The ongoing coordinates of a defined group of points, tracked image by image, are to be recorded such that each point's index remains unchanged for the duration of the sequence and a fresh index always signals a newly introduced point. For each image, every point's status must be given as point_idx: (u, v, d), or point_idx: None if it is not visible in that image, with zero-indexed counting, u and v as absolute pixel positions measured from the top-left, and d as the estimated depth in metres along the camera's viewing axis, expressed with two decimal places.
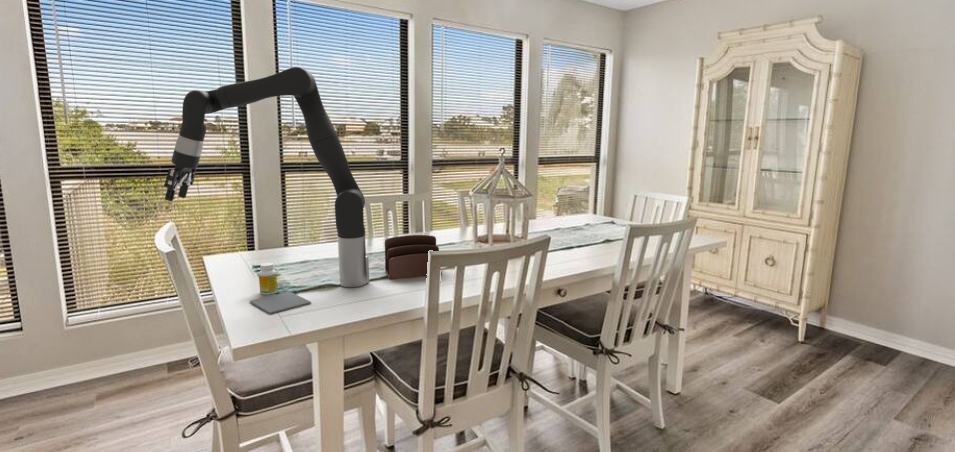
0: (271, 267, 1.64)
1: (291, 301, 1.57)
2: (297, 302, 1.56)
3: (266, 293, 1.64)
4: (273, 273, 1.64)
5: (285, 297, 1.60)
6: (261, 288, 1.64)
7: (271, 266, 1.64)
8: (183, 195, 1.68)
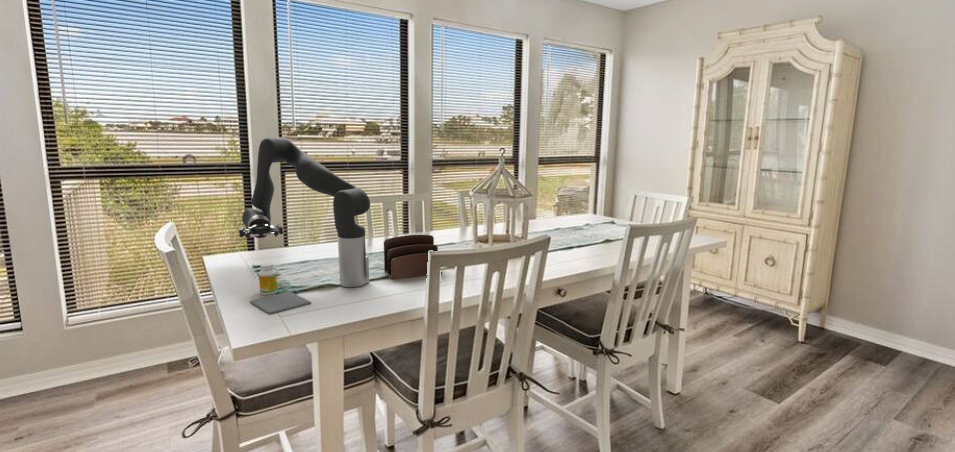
0: (271, 267, 1.64)
1: (291, 301, 1.57)
2: (297, 302, 1.56)
3: (266, 293, 1.64)
4: (273, 273, 1.64)
5: (285, 297, 1.60)
6: (261, 288, 1.64)
7: (271, 266, 1.64)
8: (274, 231, 1.75)
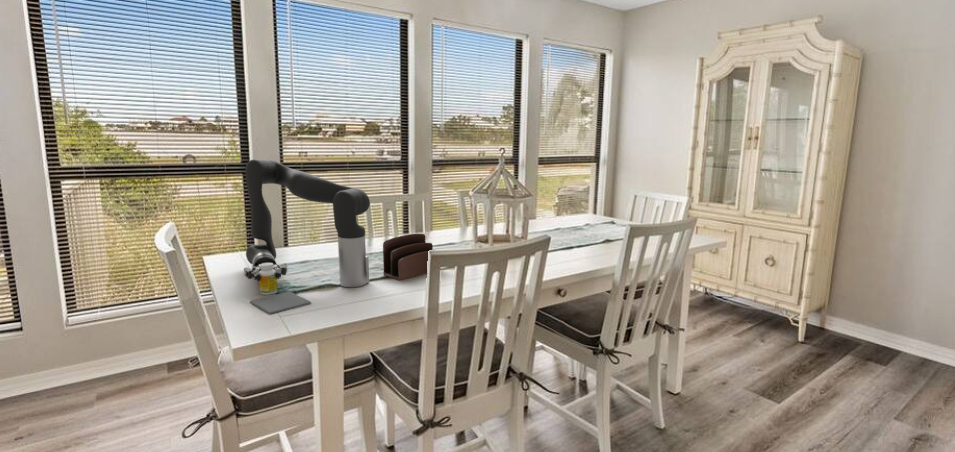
0: (271, 267, 1.64)
1: (291, 301, 1.57)
2: (297, 302, 1.56)
3: (266, 293, 1.64)
4: (273, 273, 1.64)
5: (285, 297, 1.60)
6: (261, 288, 1.64)
7: (271, 266, 1.64)
8: (276, 273, 1.65)
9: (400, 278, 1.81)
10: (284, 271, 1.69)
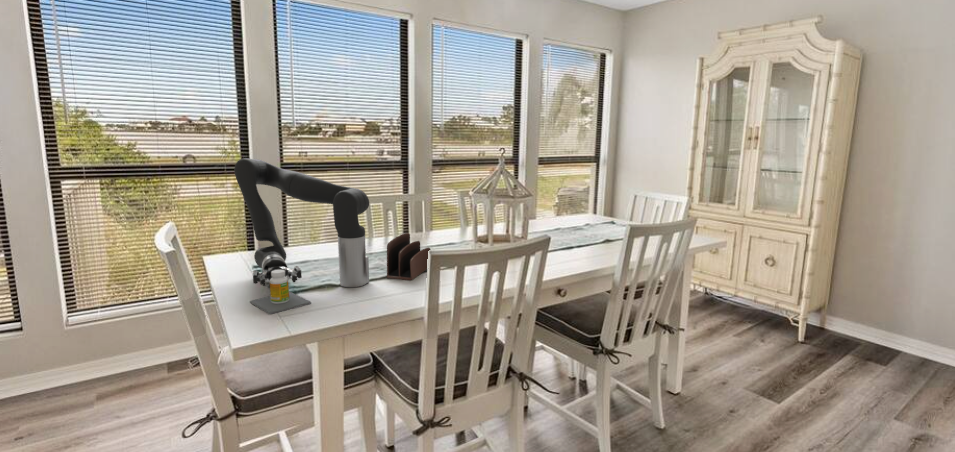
0: (283, 274, 1.54)
1: (291, 301, 1.57)
2: (297, 302, 1.56)
3: (277, 302, 1.54)
4: (285, 281, 1.54)
5: None
6: (272, 297, 1.54)
7: (283, 273, 1.54)
8: (292, 276, 1.56)
9: (412, 278, 1.81)
10: (300, 274, 1.60)
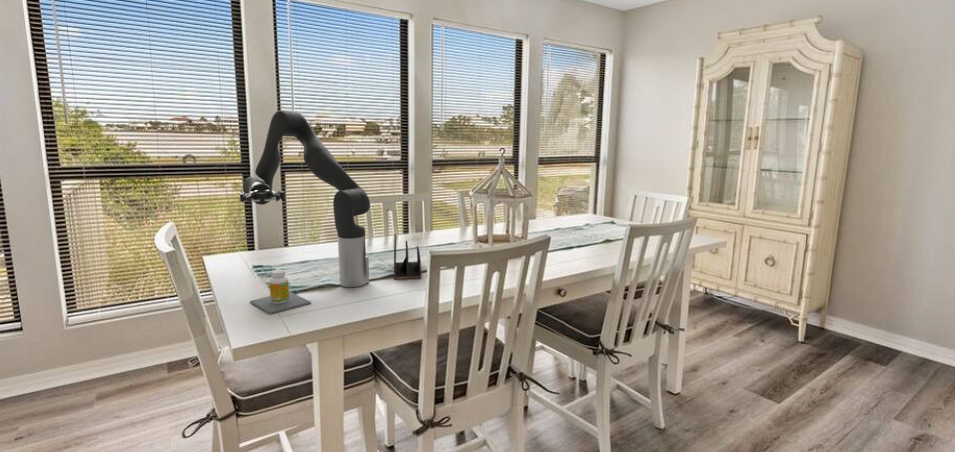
0: (283, 274, 1.54)
1: (291, 301, 1.57)
2: (297, 302, 1.56)
3: (277, 302, 1.54)
4: (285, 281, 1.54)
5: None
6: (272, 297, 1.54)
7: (283, 273, 1.54)
8: (275, 196, 1.72)
9: None
10: (283, 196, 1.77)
